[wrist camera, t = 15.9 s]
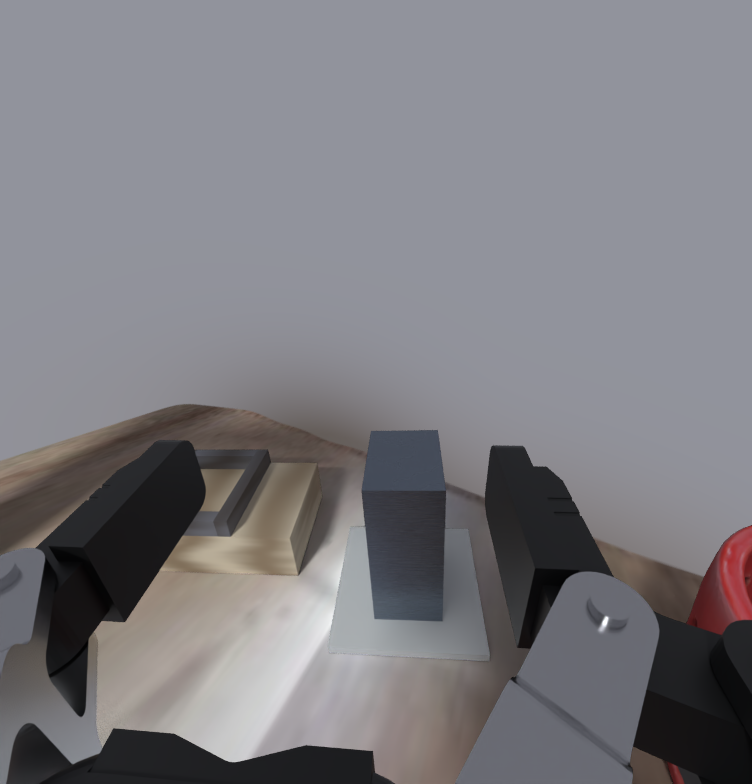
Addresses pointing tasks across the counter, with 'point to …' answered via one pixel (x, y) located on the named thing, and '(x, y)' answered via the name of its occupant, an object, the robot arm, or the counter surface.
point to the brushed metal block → (405, 524)
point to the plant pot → (724, 594)
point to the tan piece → (249, 515)
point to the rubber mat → (407, 637)
